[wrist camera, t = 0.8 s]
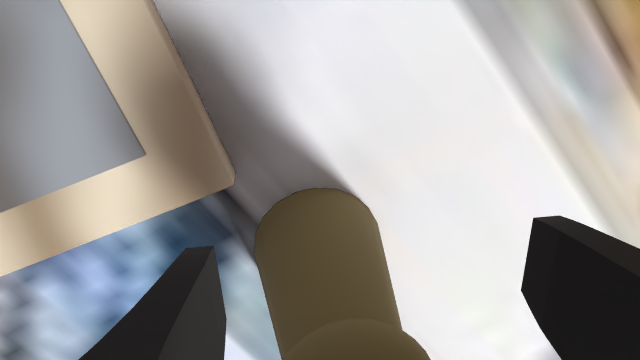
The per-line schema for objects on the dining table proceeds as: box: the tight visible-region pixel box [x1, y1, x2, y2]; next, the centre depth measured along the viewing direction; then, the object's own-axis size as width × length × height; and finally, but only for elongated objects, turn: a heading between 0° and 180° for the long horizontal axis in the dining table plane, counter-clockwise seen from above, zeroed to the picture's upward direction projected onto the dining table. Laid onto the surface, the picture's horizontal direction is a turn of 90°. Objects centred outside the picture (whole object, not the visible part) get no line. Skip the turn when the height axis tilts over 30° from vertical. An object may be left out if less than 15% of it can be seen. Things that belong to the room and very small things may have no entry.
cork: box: [254, 188, 431, 360], centre depth 17 cm, size 6×6×11 cm
